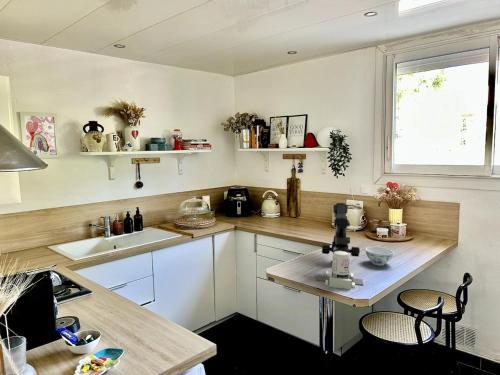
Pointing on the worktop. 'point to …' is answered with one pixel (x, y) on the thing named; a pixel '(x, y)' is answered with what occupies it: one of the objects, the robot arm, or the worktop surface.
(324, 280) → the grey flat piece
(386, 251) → the chinaware
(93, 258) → the worktop surface
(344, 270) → the supplement can
